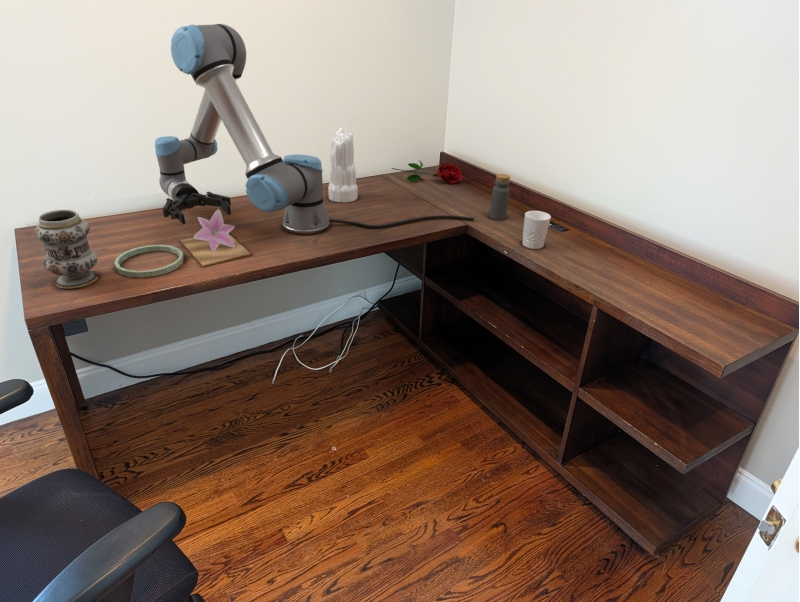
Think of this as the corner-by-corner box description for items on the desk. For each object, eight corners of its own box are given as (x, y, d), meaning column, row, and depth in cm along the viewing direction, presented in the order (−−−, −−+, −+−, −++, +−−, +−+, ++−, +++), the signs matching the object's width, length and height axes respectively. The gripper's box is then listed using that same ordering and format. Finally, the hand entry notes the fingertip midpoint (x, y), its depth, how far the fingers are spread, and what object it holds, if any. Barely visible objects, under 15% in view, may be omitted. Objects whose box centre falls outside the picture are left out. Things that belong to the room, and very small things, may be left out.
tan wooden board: (180, 241, 162) (180, 240, 161) (225, 232, 169) (225, 230, 169) (203, 266, 148) (202, 264, 148) (250, 255, 155) (250, 253, 155)
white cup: (531, 251, 164) (536, 221, 159) (515, 242, 170) (519, 212, 165) (550, 247, 168) (556, 217, 163) (534, 238, 174) (539, 209, 169)
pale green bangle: (194, 253, 155) (193, 248, 154) (163, 280, 140) (161, 275, 139) (139, 247, 157) (138, 242, 156) (102, 273, 142) (100, 268, 141)
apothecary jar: (107, 283, 138) (89, 218, 129) (53, 295, 131) (30, 228, 122) (98, 265, 146) (81, 203, 137) (48, 276, 140) (26, 211, 131)
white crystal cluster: (352, 203, 195) (352, 134, 183) (325, 200, 197) (322, 132, 184) (360, 194, 205) (360, 128, 192) (333, 191, 206) (332, 125, 194)
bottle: (487, 218, 188) (492, 176, 180) (491, 212, 192) (496, 172, 185) (503, 221, 186) (509, 179, 178) (507, 215, 191) (513, 174, 183)
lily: (189, 256, 154) (195, 234, 148) (191, 227, 161) (196, 204, 154) (231, 263, 160) (239, 241, 153) (231, 234, 166) (238, 213, 160)
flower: (393, 154, 213) (466, 162, 217) (391, 159, 223) (461, 166, 226) (391, 177, 214) (464, 184, 217) (389, 181, 223) (459, 188, 226)
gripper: (223, 198, 179) (248, 218, 164) (145, 212, 166) (165, 235, 151) (220, 176, 175) (245, 195, 161) (140, 189, 162) (160, 210, 147)
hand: (206, 215), depth 156 cm, fingers open, 13 cm apart
